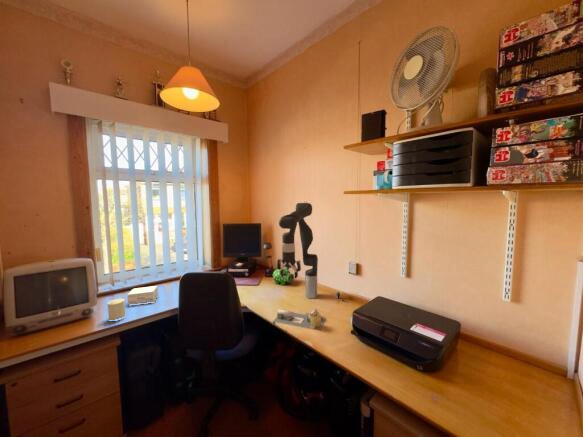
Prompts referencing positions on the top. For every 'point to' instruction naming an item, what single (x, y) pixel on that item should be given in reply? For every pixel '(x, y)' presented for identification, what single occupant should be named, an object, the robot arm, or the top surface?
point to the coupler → (315, 320)
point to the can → (116, 309)
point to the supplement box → (142, 295)
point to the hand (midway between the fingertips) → (289, 277)
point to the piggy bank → (286, 278)
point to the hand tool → (353, 332)
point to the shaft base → (297, 319)
